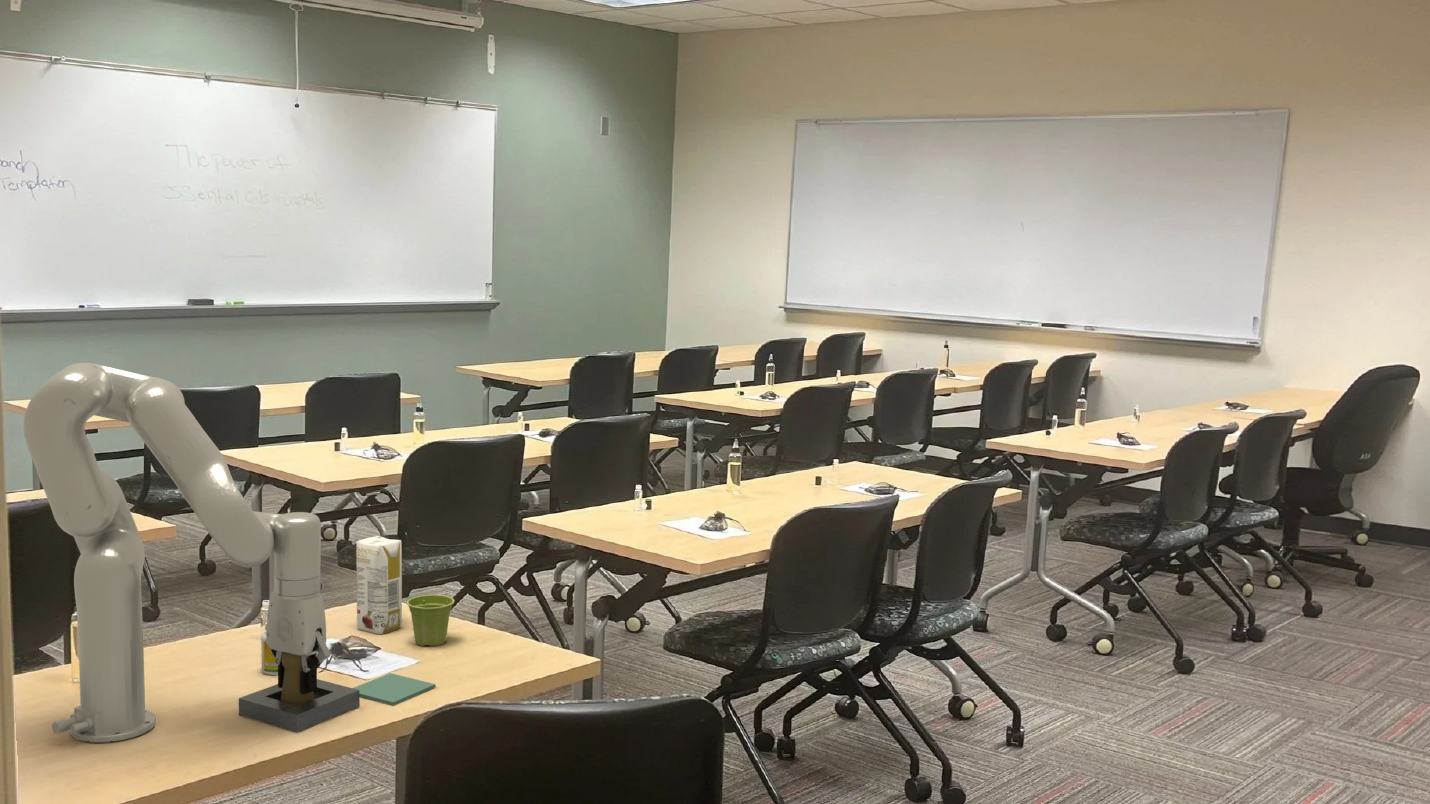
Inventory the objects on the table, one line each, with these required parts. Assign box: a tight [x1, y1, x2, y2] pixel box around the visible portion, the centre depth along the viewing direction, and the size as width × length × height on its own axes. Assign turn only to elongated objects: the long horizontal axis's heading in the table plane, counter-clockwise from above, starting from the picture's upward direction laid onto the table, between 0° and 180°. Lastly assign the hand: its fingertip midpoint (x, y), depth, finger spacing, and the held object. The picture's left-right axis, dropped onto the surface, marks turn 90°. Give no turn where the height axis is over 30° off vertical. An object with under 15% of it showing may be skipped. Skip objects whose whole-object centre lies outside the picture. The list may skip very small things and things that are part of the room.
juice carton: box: [355, 535, 403, 635], centre depth 261 cm, size 8×9×19 cm
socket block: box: [238, 678, 361, 733], centre depth 215 cm, size 14×14×3 cm
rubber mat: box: [352, 672, 436, 706], centre depth 226 cm, size 11×11×1 cm
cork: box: [280, 652, 314, 706], centre depth 214 cm, size 6×6×11 cm
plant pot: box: [406, 594, 455, 647], centre depth 253 cm, size 9×9×9 cm
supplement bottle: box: [260, 620, 278, 676], centre depth 234 cm, size 5×5×10 cm
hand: (297, 687), depth 214 cm, fingers closed on cork, 4 cm apart
